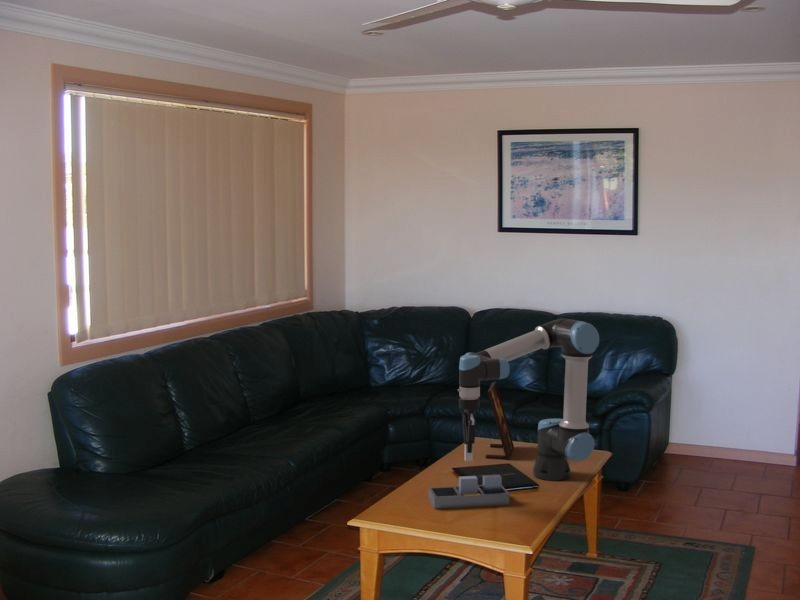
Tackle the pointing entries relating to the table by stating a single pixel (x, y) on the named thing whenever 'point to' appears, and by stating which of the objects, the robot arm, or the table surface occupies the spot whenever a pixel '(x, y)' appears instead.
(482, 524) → the table surface
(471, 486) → the block
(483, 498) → the rack
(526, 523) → the table surface
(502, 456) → the picture frame
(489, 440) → the table surface
